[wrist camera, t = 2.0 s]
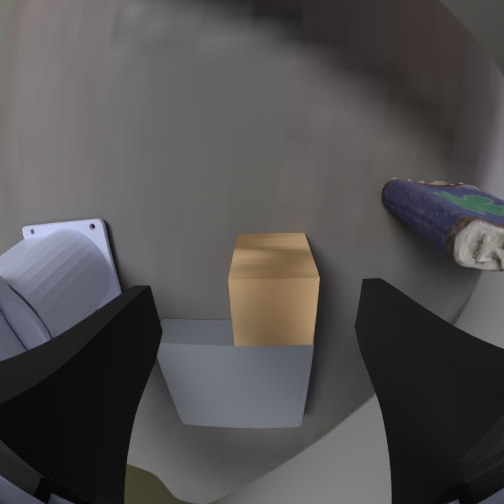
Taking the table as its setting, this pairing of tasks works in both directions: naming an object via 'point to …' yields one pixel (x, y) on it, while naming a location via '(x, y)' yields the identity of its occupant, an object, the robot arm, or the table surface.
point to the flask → (452, 219)
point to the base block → (232, 376)
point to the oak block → (273, 290)
